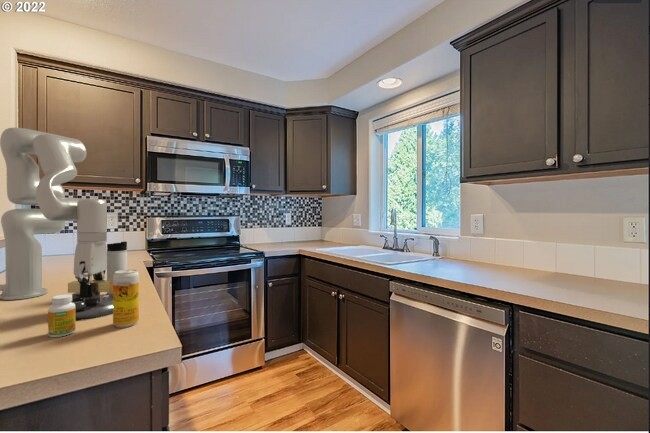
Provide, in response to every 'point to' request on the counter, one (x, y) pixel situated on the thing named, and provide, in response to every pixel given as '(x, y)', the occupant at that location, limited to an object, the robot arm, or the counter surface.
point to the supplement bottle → (61, 316)
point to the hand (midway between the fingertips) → (92, 294)
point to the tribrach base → (92, 307)
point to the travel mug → (116, 259)
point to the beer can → (125, 298)
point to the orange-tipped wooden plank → (96, 289)
